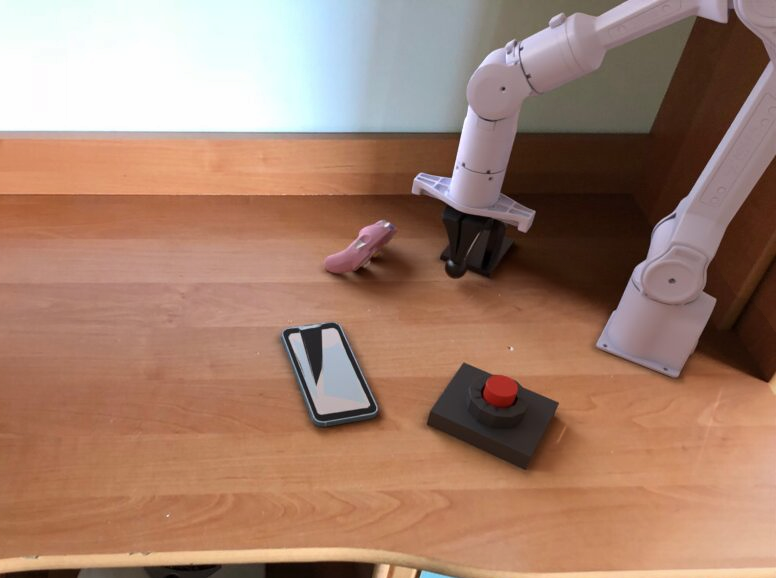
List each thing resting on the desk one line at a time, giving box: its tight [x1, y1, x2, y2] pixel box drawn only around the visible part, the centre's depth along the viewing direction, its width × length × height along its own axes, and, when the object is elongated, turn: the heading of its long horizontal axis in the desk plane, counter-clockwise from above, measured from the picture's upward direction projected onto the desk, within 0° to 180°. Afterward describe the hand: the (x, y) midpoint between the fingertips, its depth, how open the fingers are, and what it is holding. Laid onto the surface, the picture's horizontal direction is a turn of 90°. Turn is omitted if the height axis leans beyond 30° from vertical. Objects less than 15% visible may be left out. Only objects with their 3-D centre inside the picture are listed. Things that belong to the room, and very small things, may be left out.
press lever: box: [444, 218, 494, 280], centre depth 102 cm, size 12×3×3 cm, turn 148°
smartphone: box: [280, 321, 379, 428], centre depth 89 cm, size 7×1×15 cm
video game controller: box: [323, 219, 398, 274], centre depth 103 cm, size 10×5×7 cm, turn 143°
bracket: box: [439, 219, 515, 279], centre depth 104 cm, size 9×7×8 cm
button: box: [483, 374, 518, 408], centre depth 82 cm, size 3×3×2 cm
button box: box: [426, 361, 560, 471], centre depth 84 cm, size 11×9×4 cm
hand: (458, 258), depth 99 cm, fingers closed, pressing on press lever
